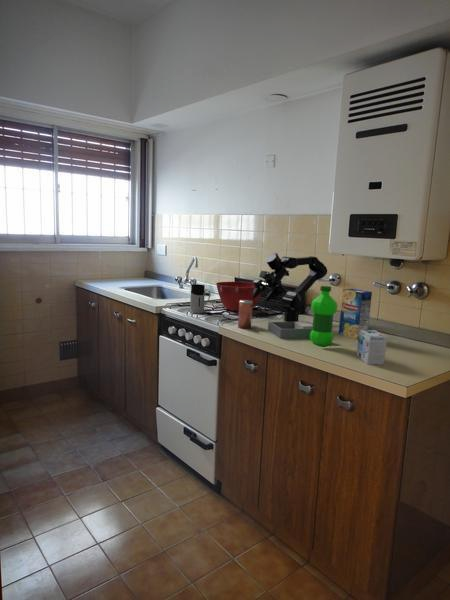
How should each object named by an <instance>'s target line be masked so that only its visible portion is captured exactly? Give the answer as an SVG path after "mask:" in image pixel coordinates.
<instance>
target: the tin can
mask: <svg viewBox="0 0 450 600" xmlns="http://www.w3.org/2000/svg"><path fill="white" fill-rule="evenodd" d="M252 305H253V301H251V300H239V311H238V320H237V328H238V329H242V330H249V329H252V319H253V309H252Z"/></svg>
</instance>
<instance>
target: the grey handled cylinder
mask: <svg viewBox="0 0 450 600" xmlns="http://www.w3.org/2000/svg"><path fill="white" fill-rule="evenodd" d="M205 287H206V286H205V284H201V283H200V284H198V283H197V284H194V283H193V284H191V285H190V302H189V303H190V304H189V312H190V313H193V314H202V313H205V306H207V304H208V303H209V301H210V299H211V291H210V290H209V289H207V288H205ZM206 291H208V299H207V301H206V303H205V297H206Z"/></svg>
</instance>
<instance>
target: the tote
mask: <svg viewBox="0 0 450 600" xmlns="http://www.w3.org/2000/svg"><path fill="white" fill-rule="evenodd" d="M308 322H309V323H311V324H313V322H310V321H308ZM267 325H268V326H267V331H268V332H269V333H271V334H273V335H275V336H276V337H278V338H279V339H282V340H283V339H310V332H311V331H312V329H313V328H307V329H294V328H295V322H286V321H268V323H267Z"/></svg>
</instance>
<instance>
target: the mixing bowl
mask: <svg viewBox="0 0 450 600" xmlns="http://www.w3.org/2000/svg"><path fill="white" fill-rule="evenodd" d="M215 285H216V290H217V293H218V296H219V299H220V301H221V302H220V303H221V304H222V305H223V307H224V308H225V309H227V310H229V311H231V312H239V300H251V301H253V305H252V310H253V309H254V308H256V305H257V304H258V302H259V300H260V299H261V295H262V293H261V294H259V295H258V296H257V297H255V298H253V294H254V291H255V285H254V283H253V282H250V281H249V282H248V281H220V282H219V281H218V282H216V283H215Z"/></svg>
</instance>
